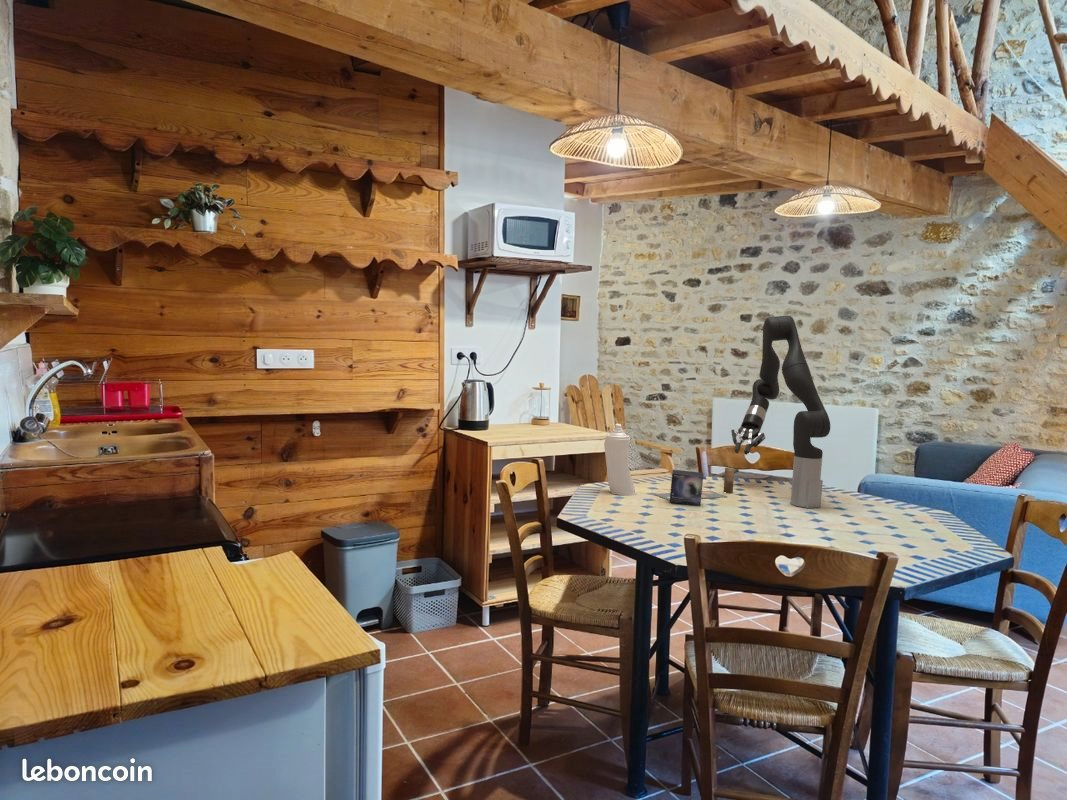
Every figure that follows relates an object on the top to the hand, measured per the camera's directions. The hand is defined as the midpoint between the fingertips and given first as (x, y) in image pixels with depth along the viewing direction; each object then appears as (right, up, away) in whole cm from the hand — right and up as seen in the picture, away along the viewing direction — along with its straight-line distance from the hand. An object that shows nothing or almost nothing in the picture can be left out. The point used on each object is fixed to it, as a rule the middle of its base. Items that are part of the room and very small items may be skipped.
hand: (741, 452), depth 270 cm
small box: (-28, -15, -28) cm, 42 cm away
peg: (-7, -14, -8) cm, 18 cm away
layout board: (-23, -14, -17) cm, 32 cm away
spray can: (-49, -14, -16) cm, 54 cm away
